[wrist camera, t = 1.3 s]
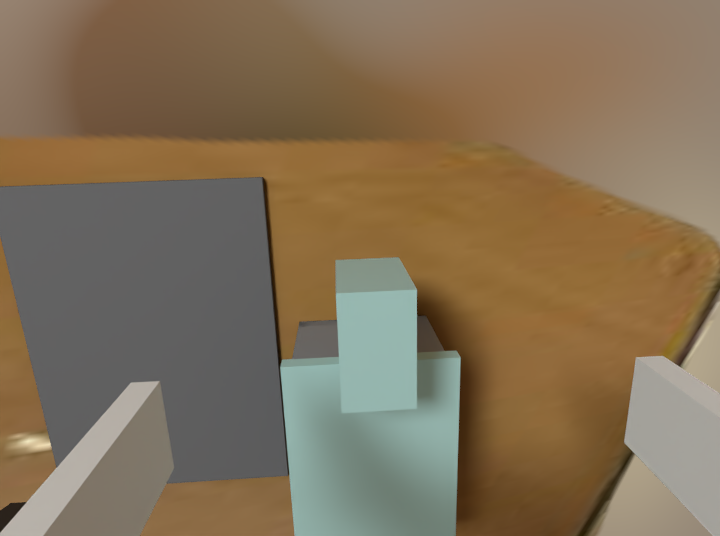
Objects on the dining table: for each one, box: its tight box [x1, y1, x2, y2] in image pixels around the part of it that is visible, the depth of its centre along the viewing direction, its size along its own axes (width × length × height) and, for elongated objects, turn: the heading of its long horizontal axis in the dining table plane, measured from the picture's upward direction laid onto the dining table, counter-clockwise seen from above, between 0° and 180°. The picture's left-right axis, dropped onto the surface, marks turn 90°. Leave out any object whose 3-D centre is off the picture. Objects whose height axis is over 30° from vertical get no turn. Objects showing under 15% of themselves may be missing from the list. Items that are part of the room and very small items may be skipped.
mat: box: [0, 177, 288, 483], centre depth 28 cm, size 15×20×1 cm
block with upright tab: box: [280, 257, 461, 536], centre depth 22 cm, size 9×18×6 cm, turn 2°
